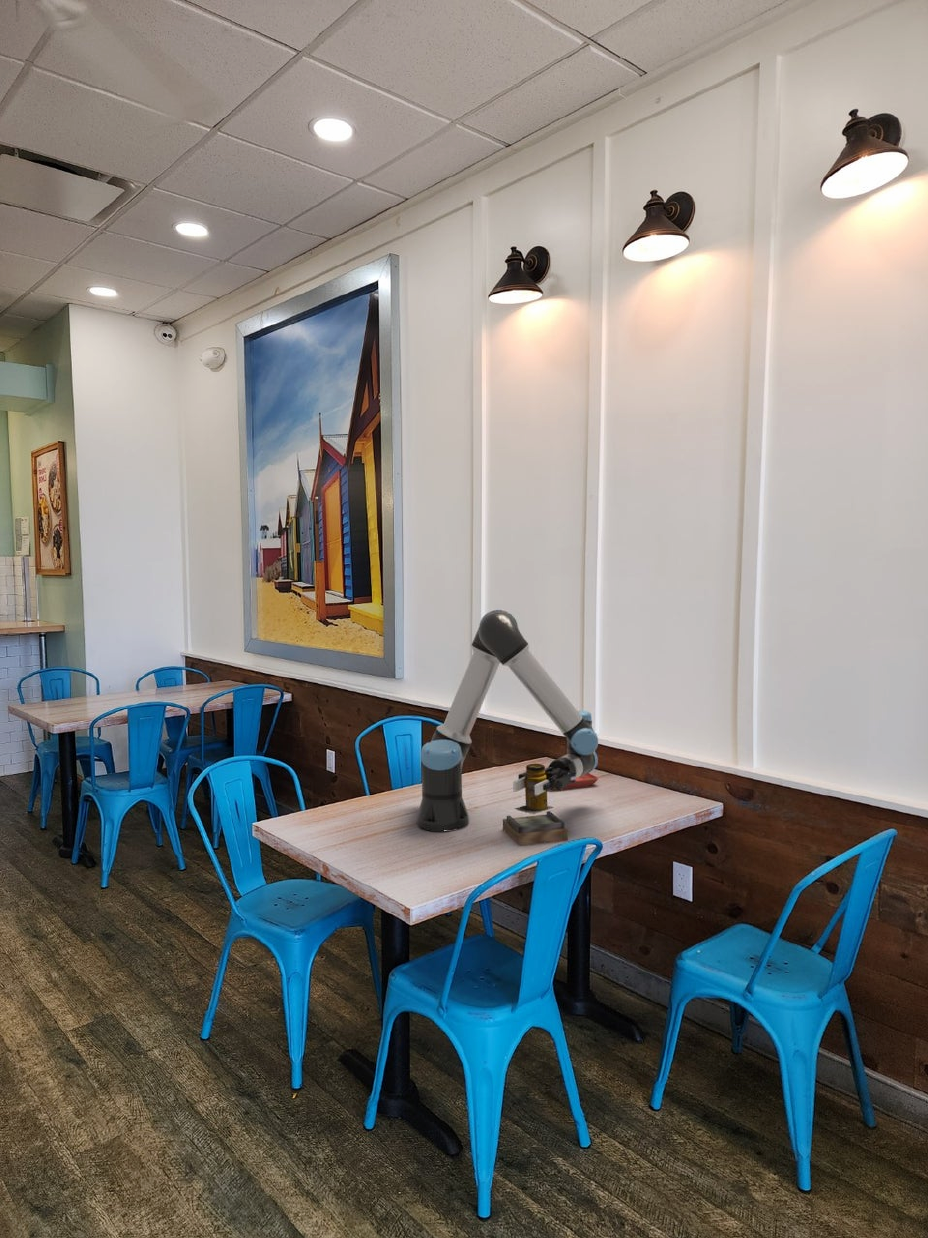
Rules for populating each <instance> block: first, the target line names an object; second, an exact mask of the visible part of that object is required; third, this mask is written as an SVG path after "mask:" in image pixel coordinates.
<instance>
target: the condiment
mask: <svg viewBox="0 0 928 1238" xmlns="http://www.w3.org/2000/svg"><path fill="white" fill-rule="evenodd" d="M545 769H546V766H545V765H544V764H541V763H531V764H530V763H529V764H526V767H525V772H526V775H525V788H524V791H525V793H524V795H525V805H522V806H519V807H516V808H514V810H516V811H520V812H522V813H527V814H532V815H535V814H536V815H537V814H539V813H541V812H545V811H546V812H547V811H548V810H551V809H554V808H555V807H554V806H551V805H548V790H547V791H545V792H543V793H541V794H539V795H535V785H536V784H538V783H540V782H542V781H544V780H547V777H546V774H545Z"/></svg>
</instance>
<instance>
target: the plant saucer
mask: <svg viewBox="0 0 928 1238" xmlns="http://www.w3.org/2000/svg"><path fill="white" fill-rule="evenodd" d="M598 780H599V777H598V776H596V775H594V774H592V773H591V772H589V773H588V774H585V775H583V776H581V777H578V778H576V779H575V782H574V783H570V784H569V785H567V786H566V787H564V788H562V789H560V790H559V791H561V790H568V789H569V790H570V789H574V788H575V789H576V788H584V787H585V788H586V787H592V786H594V784H595V783H596V782H597V781H598ZM549 782H550V781H549ZM552 791H558V790H557V788H554V789H552Z"/></svg>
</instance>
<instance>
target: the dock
mask: <svg viewBox="0 0 928 1238" xmlns="http://www.w3.org/2000/svg"><path fill="white" fill-rule="evenodd" d="M565 825H566V824H565V822H564V821H563V820H562V819H560V818H559V817H558V816H556V814H554V813H553V812H551V810H549V811H548V810H547V811H546V814H540V815H537V814H536V815H530V816H529V815H528V816H520V817H518V816H517V817H512V816H511V815H510V814H509V815H506V818H503V819H502V831H504V830H505V831H504V832H505V833H506V834H507V835H508V836H509V837H510V838H511V839H512V840H513V842H515V843H516V844H517V845H518V846H519V845H520V846H528V845H536V844H537V843H538V844H544V842H546V843H554V842H562V841H568V839H569V834H568V833H569V832H568V831H569V829H568V828H567V827H565ZM546 843H545V844H546Z"/></svg>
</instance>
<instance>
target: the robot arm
mask: <svg viewBox="0 0 928 1238" xmlns="http://www.w3.org/2000/svg"><path fill="white" fill-rule="evenodd" d="M478 626H479V627H478V629H477V631H476V634H475V636H474V638H473V640H472V642H471V645H470V646H471V649H472V653H473V654H472V656H471V657H470V661H469V663H468V665H467V668H466V669H465V672H464V674H463V677H462V680H461V681H460V684H459V685H458V689H457V692H456V693H455V696H454V698H453V701H452V703H451V706H450V707H449V710H448V713H447V714H446V715H447V716H446V717H445V720H444V723H442V724H440V725H438V726H436V728H435V730H434V733H433V735H432V738H431V741H430V742H428V741H427V742H426V743H425V744H424V745H423V746H422V748H421V750H420V751H421V753H420V760H421V761H420V762H421V791H422V792H421V795H422V796H421V797H422V798H421V801H420V804H419V807H418V812H417V815H416V826H417V827H418V826H419V827H418V828H420V827H421V828H420V829H422V828H424V829H423V830H425V829H426V830H425V831H429V830H433V831H432V832H445V831H444V830H453V831H455V830H454V829H458V830H461V829H464V828H465V826H466V827H467V826H468V825H469V823H470V821H469V820H470V819H469V813H468V810H467V807H466V804H465V801H464V798H463V775H462V773H463V770H462V769H463V764H464V761H465V759H466V756H467V754H468V753H469V750H470V747H471V744H472V742H473V740H472V739H471V736H470V734H471V732H472V730H473V727H474V725H475V723H476V720H477V718H478V715H479V714H480V711H481V708H482V706H483V703H484V701H485V699H486V697H487V695H488V691H489V690H490V688H491V685H492V683H493V681H494V678H495V676H496V673H497V670H498V668H499V666H500V664H501V665H502V666H506V667H508V668H509V669H510V671H511V672H513V674H514V675H515V677H517V679H518V680H519V681H520V683H521V684H522V685H523V686H524V688H525V689H526V691H528V693H529V694H530V695H531V697H533V699H534V700H535V701H536V703H538V705H539V706H540V708H541V709H542V710H543V711H544V712H545V714H546V715H547V716H548V717H549V719H550V720H551V721H552V722H553V724H555V726H556V727H557V728H558V730H559V731H560V732H561V733H562V735H563V736H564V738H566V740H567V747H566V748H567V749H566V751H567V754H565V755H562V756H561V757H559V758H557V759H554V760H552V761H551V762H550V763H549V765H548V766H547V767H545V774H546V777H547V780H544V781H542V782H540V783H538V784H536V785H535V795H539V794H541V793H543V792H545V791H547V792H548V791H549V790H552V789H554V788H557V790H556V791H561V790H563V789H562V788H564V787H566V786H567V785H569V784H570V783H574V782H575V779H576V778H578V777H581V776H583V775H585V774H588V773H591V772H592V771H593V770H595V769H596V767H597V766H598V763H599V762H598V761H599V757H598V755H597V753H596V750H597V749H598V746H599V738H598V733H596V732H595V730H594V728H593V725H592V724H593V719H592V713H591V712H589V711H588V710H587V711H586V710H577V708H576V707H575V706H574V704H573V703H572V702H571V701H570V699H569V698H568V697H567V696H566V695H565V693H564V692H563V690H561V688H560V687H559V686H558V684H557V683H556V682H555V681H554V680H553V678H552V677H551V676H550V675H549V673H548V672H547V671H546V669H545V668H544V667H543V666H542V665H541V663H540V662H539V661H538V660H537V658H536V657H535V656H534V654H532V652H531V651H530V650H529V647H530V646H529V645H530V644H529V643H528V642H527V640H526V639H525V638H524V636H523V634H522V633H521V631H520V629H519V625H518V622H517V619H516V618H515V616H513V615H512V613H509V612H507V611H506V610H503V609H495V610H491V611H489V612H487V613H486V614H484V615H483V616H482V618H481V619H480V623H479V625H478ZM525 775H526V771H525V772H522V773H519V774H518V778H517V779H516V780H514V781H513V782H512V784H513V785H512V787H513V788H512V790H513V792H514V793H517V792H519V791H521V790H523V789H525ZM549 781H550V782H549ZM560 789H561V790H560ZM552 791H553V790H552ZM463 827H464V828H463ZM460 828H461V829H460Z"/></svg>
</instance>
